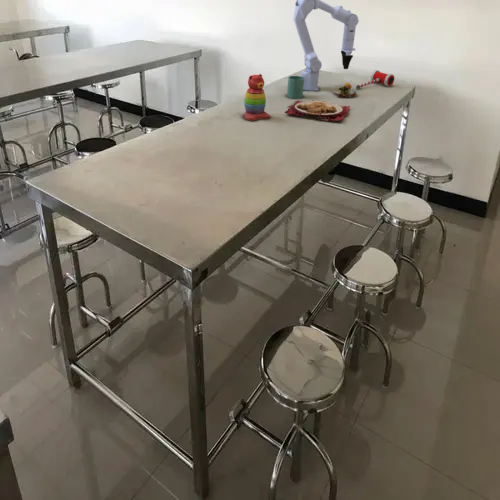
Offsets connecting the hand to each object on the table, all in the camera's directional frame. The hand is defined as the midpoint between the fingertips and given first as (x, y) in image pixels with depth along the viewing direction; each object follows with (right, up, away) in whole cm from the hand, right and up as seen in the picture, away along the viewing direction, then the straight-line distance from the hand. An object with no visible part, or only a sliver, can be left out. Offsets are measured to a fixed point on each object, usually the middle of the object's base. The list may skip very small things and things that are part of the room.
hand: (345, 67), depth 253 cm
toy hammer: (+18, -6, +11) cm, 22 cm away
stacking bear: (-47, -36, -38) cm, 71 cm away
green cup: (-27, -19, -10) cm, 35 cm away
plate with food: (-18, -32, -30) cm, 48 cm away
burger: (-2, -16, -5) cm, 17 cm away
